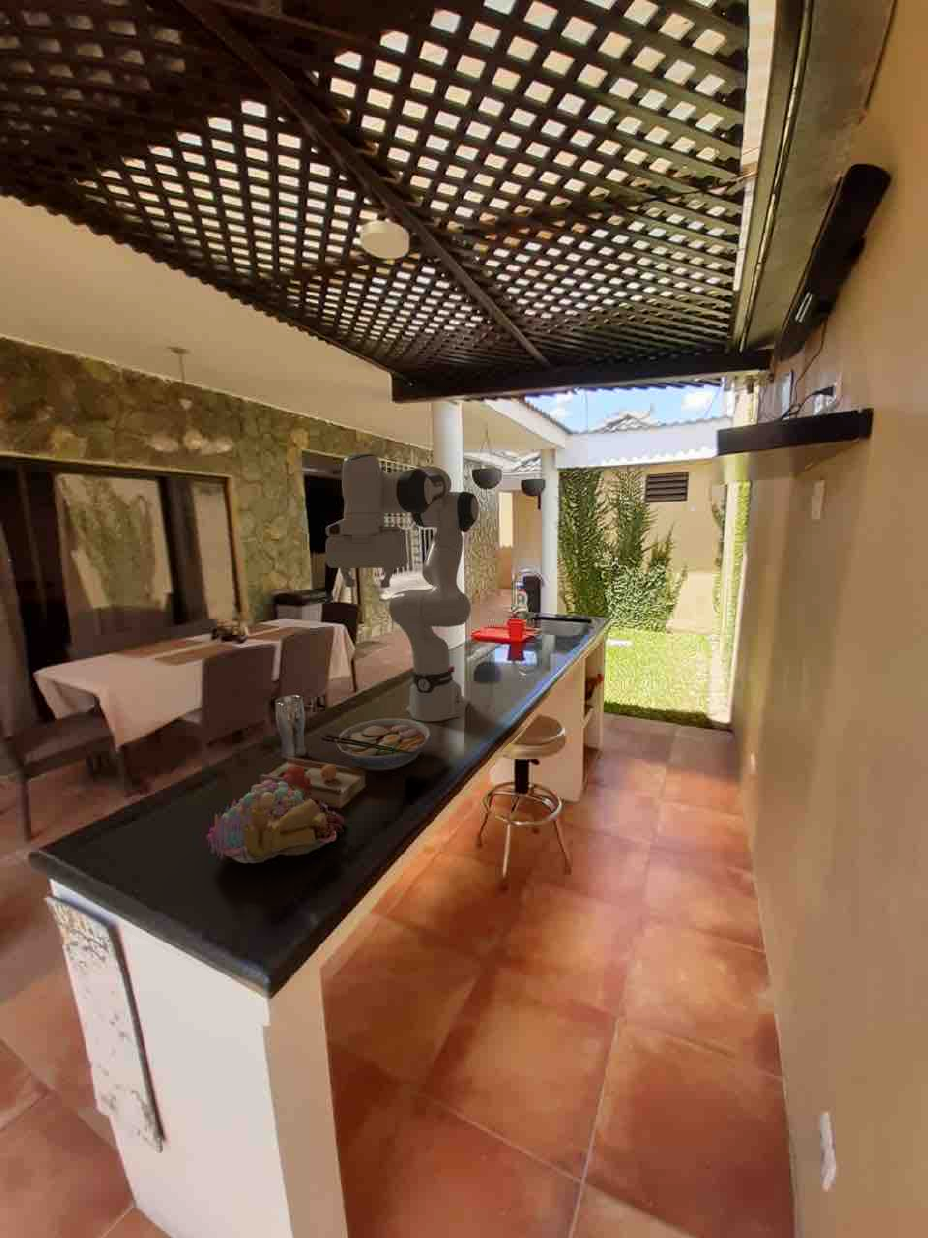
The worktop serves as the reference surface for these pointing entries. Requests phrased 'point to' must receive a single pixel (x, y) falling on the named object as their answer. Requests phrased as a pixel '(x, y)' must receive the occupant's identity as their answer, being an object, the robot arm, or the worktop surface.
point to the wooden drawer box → (325, 791)
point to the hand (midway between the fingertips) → (367, 587)
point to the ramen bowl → (382, 743)
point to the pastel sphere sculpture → (275, 821)
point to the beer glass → (291, 725)
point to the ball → (328, 772)
